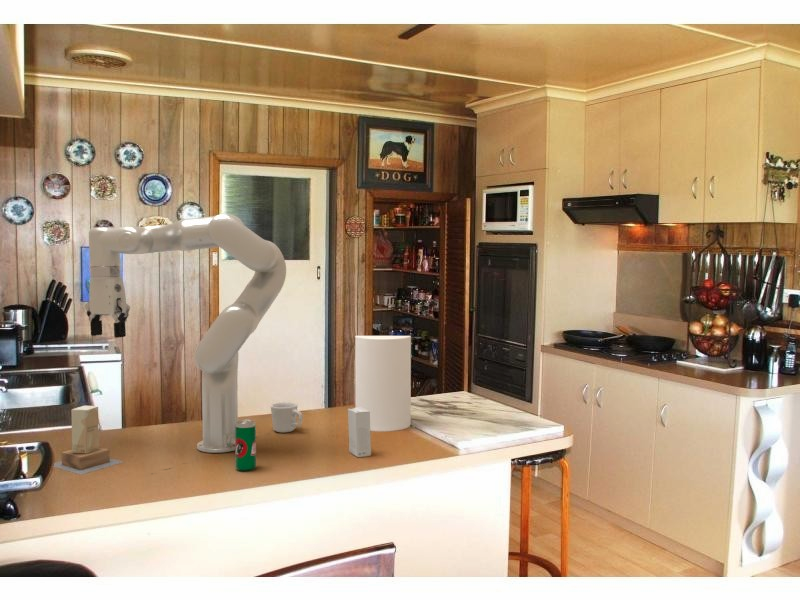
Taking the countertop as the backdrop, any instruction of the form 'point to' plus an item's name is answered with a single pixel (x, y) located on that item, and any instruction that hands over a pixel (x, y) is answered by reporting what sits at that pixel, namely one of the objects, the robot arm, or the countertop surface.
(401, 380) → the cylinder
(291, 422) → the cup
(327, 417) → the countertop surface
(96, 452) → the walnut plinth
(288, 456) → the countertop surface
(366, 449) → the skincare box
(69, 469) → the slate mat
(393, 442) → the countertop surface
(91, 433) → the box
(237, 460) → the soda can
